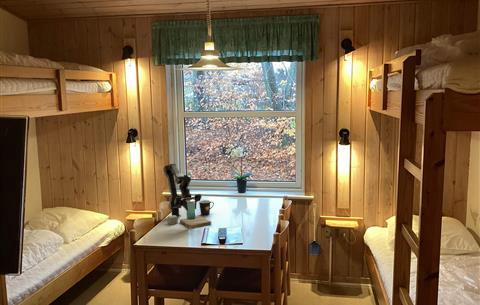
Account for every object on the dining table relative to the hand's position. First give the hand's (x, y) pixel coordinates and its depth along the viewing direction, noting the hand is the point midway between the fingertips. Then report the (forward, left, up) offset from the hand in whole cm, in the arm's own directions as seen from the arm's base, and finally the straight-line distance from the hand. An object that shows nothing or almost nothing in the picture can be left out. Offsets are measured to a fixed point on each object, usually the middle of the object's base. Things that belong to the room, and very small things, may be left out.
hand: (191, 209), depth 307 cm
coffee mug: (-25, +23, -13) cm, 36 cm away
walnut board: (-8, +6, -12) cm, 16 cm away
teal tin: (-1, 0, -7) cm, 7 cm away
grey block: (-18, -7, -13) cm, 23 cm away
